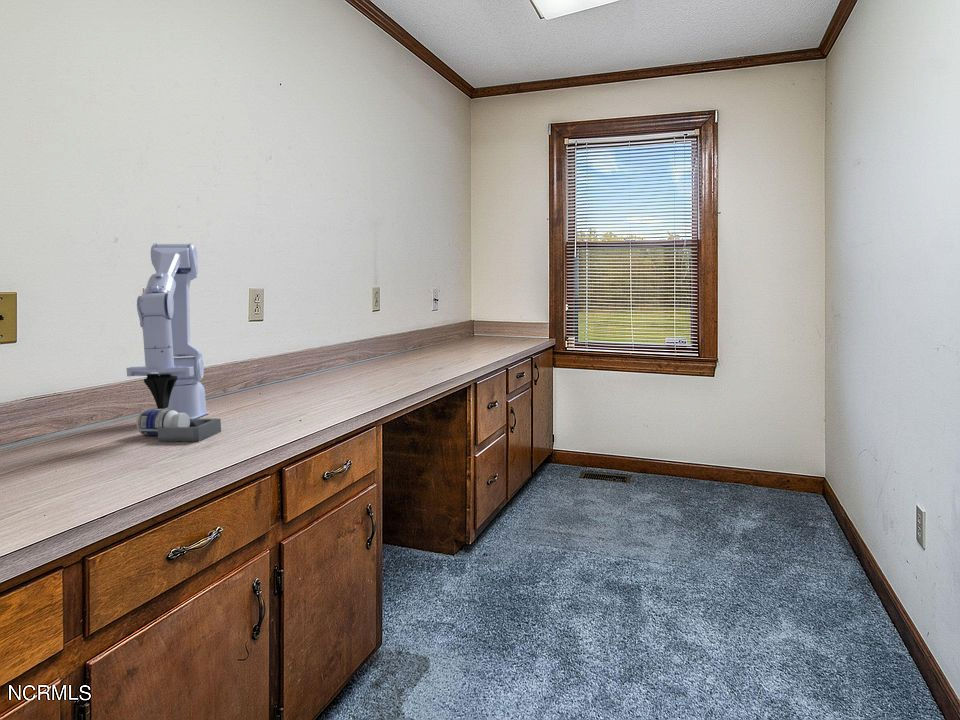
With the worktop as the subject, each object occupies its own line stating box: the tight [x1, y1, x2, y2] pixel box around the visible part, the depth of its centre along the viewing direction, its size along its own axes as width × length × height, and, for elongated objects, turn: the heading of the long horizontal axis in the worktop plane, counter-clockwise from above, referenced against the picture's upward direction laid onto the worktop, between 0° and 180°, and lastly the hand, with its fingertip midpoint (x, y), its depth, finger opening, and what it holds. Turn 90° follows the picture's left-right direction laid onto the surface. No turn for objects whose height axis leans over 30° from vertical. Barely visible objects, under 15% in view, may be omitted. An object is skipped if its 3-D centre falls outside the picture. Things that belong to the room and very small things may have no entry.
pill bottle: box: [136, 409, 190, 436], centre depth 145 cm, size 6×6×10 cm
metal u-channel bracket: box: [157, 418, 222, 443], centre depth 144 cm, size 10×9×3 cm
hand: (163, 408), depth 144 cm, fingers closed
